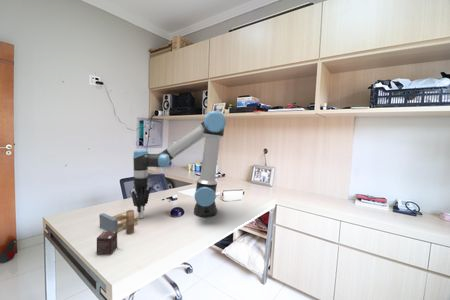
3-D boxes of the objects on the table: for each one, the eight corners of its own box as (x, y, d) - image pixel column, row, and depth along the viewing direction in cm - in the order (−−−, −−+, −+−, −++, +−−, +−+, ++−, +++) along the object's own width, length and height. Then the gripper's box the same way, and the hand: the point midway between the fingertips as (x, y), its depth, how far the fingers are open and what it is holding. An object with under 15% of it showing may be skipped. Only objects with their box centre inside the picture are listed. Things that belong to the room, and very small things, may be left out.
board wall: (157, 219, 123) (157, 206, 122) (110, 239, 99) (110, 222, 99) (141, 213, 131) (141, 201, 130) (94, 230, 107) (94, 215, 106)
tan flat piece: (137, 224, 113) (137, 217, 113) (116, 232, 104) (116, 224, 103) (124, 219, 119) (125, 212, 119) (104, 226, 110) (104, 218, 109)
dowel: (135, 234, 105) (135, 211, 104) (128, 237, 102) (129, 213, 101) (131, 232, 107) (131, 209, 106) (124, 235, 104) (124, 211, 103)
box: (103, 247, 92) (103, 231, 92) (117, 247, 93) (117, 231, 92) (96, 255, 86) (96, 238, 86) (111, 255, 87) (111, 238, 86)
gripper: (145, 174, 127) (146, 212, 129) (126, 178, 116) (126, 219, 117) (154, 176, 123) (154, 214, 125) (134, 179, 112) (135, 222, 114)
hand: (140, 216), depth 121 cm, fingers closed
